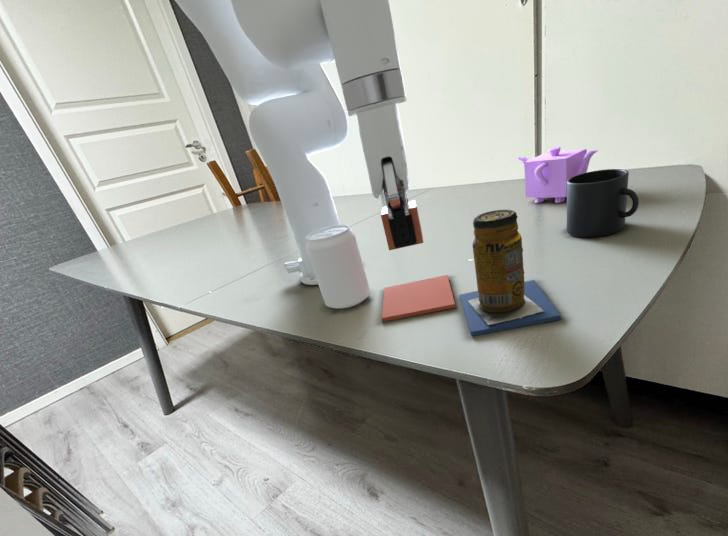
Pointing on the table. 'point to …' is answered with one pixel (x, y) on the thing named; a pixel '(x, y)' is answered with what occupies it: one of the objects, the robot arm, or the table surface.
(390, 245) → the terracotta block
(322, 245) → the beverage can
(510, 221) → the condiment
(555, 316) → the slate mat
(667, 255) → the table surface
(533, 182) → the teapot
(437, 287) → the terracotta mat
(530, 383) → the table surface
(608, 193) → the mug
